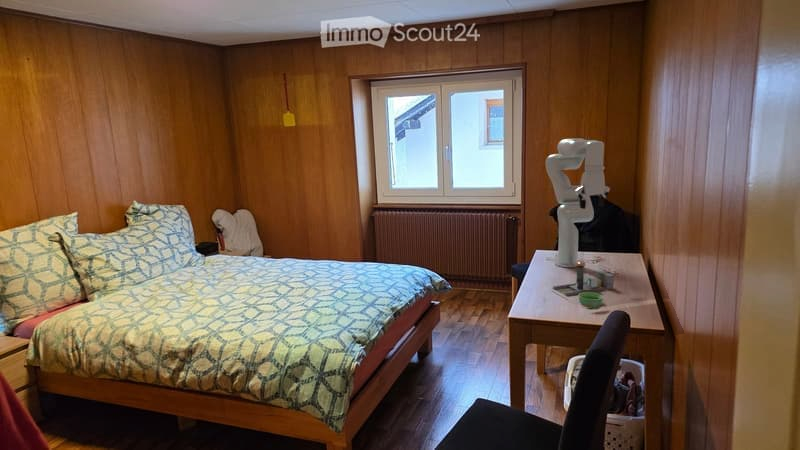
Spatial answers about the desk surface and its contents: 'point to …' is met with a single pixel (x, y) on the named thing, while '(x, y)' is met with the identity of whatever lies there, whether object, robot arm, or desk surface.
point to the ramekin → (590, 299)
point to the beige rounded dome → (598, 283)
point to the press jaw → (583, 279)
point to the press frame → (606, 285)
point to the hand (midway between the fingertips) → (592, 207)
